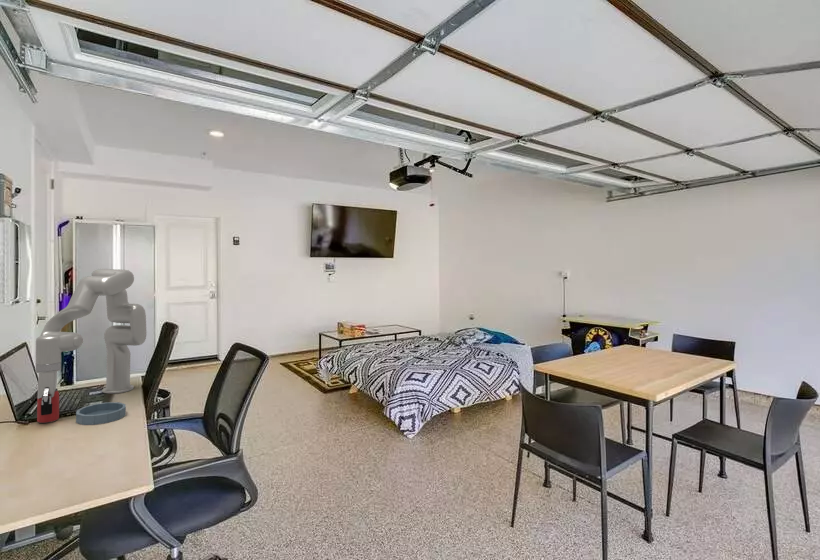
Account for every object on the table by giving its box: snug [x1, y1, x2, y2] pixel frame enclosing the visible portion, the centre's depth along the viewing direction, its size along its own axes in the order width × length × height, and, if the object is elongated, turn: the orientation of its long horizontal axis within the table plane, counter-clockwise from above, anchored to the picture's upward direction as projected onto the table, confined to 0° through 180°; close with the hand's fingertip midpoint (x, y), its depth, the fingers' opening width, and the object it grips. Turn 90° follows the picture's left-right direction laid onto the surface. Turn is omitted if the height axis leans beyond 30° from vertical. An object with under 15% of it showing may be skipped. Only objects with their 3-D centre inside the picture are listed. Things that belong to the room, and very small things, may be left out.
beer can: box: [36, 388, 60, 424], centre depth 165 cm, size 7×7×12 cm
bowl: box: [75, 401, 127, 426], centre depth 170 cm, size 16×16×4 cm
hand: (48, 410), depth 165 cm, fingers open, 9 cm apart
